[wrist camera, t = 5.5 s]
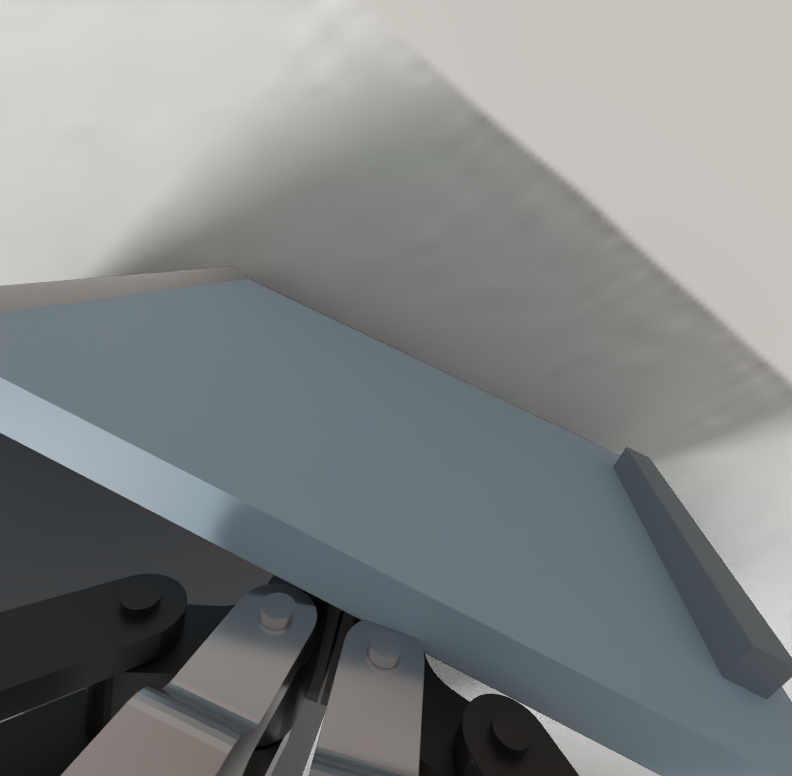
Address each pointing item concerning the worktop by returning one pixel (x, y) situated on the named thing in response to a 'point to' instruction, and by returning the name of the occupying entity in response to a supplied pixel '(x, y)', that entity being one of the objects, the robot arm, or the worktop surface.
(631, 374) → the worktop surface
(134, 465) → the side door
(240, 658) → the robot arm
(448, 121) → the worktop surface
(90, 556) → the camera housing
